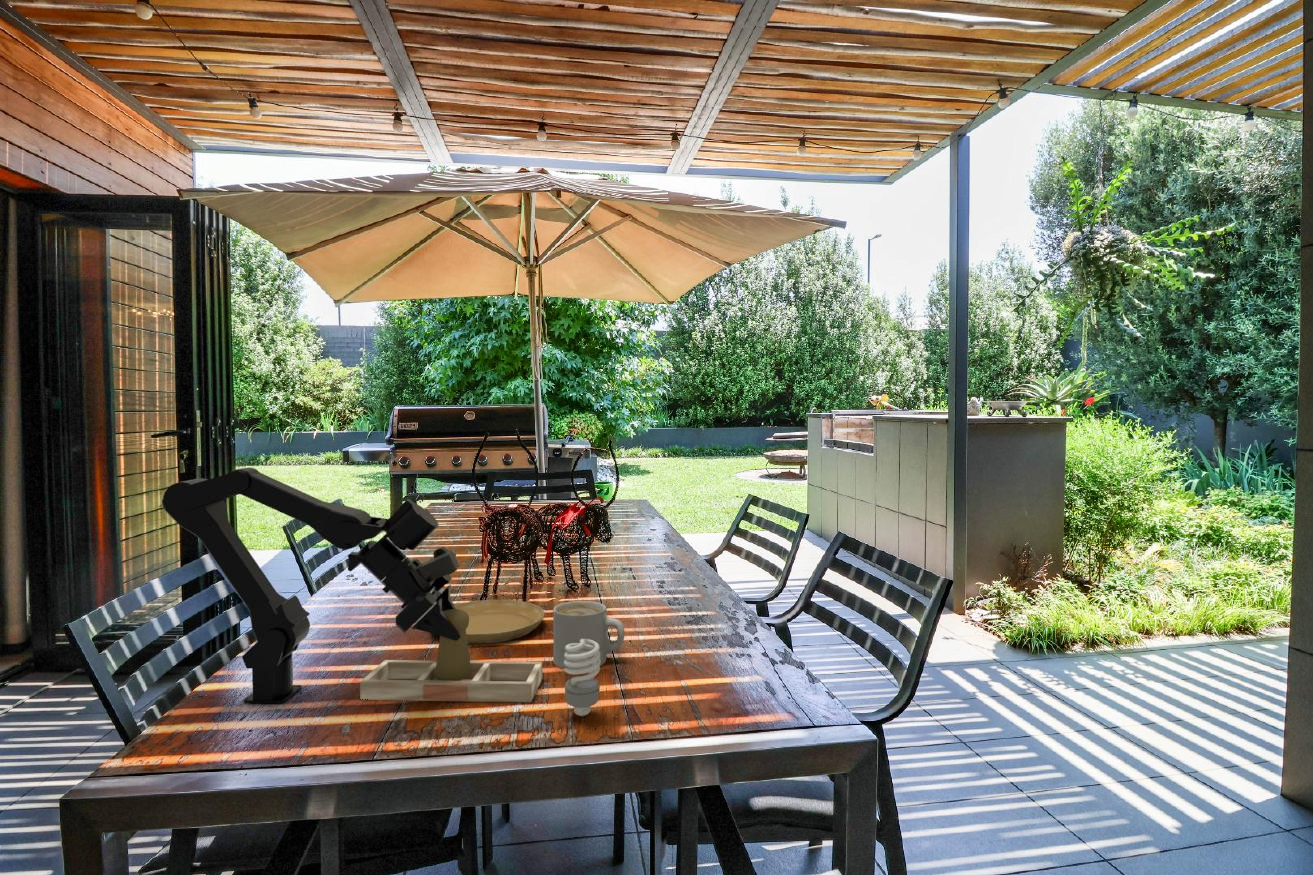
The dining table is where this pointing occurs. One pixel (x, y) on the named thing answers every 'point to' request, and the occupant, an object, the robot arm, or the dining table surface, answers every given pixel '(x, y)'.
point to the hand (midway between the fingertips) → (461, 633)
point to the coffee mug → (583, 628)
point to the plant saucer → (500, 620)
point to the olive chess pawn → (454, 650)
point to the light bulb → (586, 687)
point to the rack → (452, 682)
